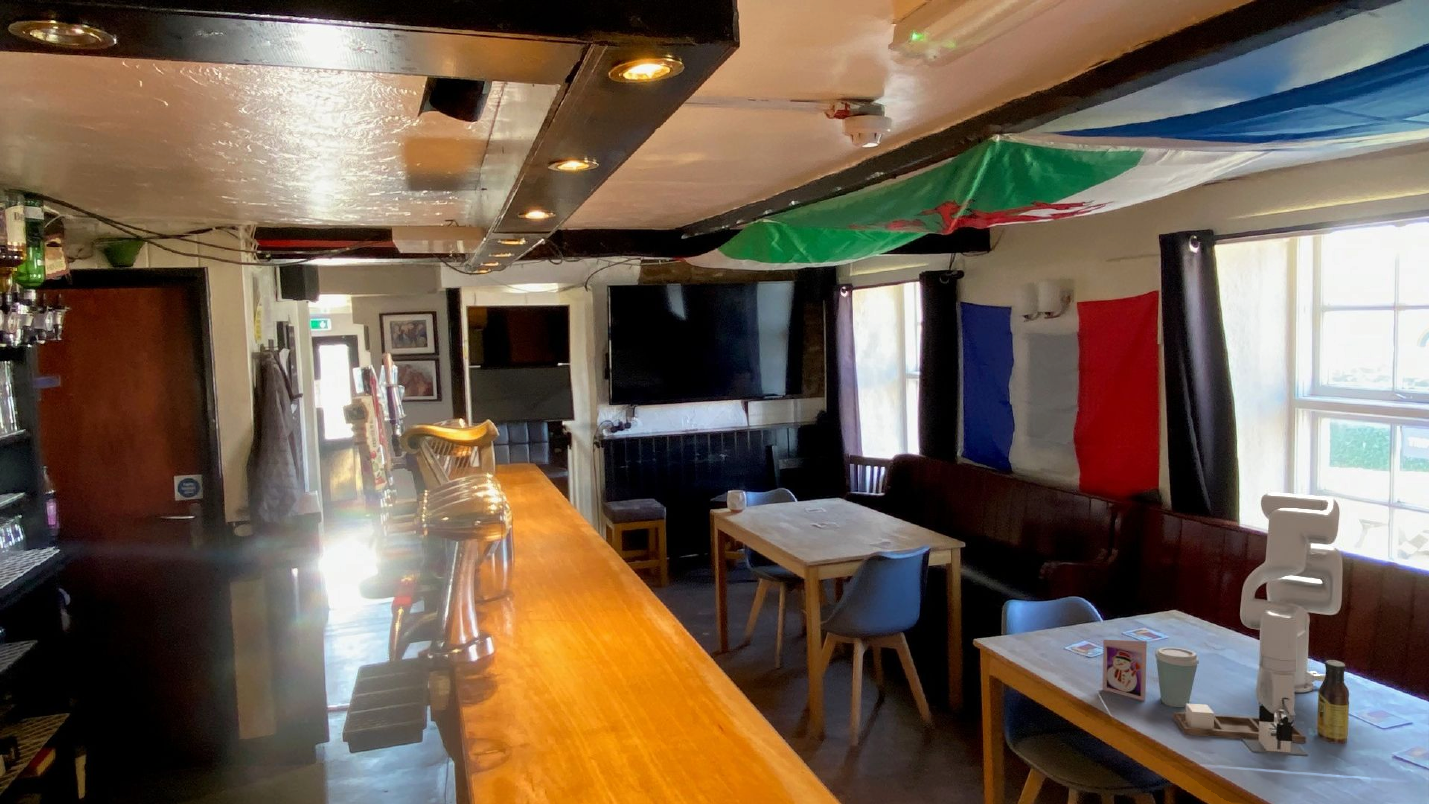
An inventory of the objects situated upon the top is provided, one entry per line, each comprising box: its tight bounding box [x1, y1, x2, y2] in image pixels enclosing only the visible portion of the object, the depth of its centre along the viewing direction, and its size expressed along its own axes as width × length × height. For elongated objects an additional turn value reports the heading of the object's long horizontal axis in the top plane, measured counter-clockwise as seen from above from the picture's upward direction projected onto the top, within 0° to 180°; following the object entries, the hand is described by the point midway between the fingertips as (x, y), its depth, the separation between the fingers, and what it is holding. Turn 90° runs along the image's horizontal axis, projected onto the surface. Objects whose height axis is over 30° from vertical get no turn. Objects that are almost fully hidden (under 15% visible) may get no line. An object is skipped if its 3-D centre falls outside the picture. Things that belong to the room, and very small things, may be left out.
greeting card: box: [1102, 639, 1148, 702], centre depth 242 cm, size 11×7×15 cm, turn 45°
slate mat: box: [1241, 738, 1309, 757], centre depth 209 cm, size 12×6×1 cm, turn 78°
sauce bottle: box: [1316, 659, 1350, 744], centre depth 213 cm, size 6×6×20 cm
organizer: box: [1172, 711, 1307, 744], centre depth 219 cm, size 27×10×2 cm, turn 78°
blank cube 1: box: [1185, 703, 1215, 729], centre depth 220 cm, size 5×5×5 cm
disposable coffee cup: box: [1154, 646, 1200, 708], centre depth 235 cm, size 11×11×15 cm
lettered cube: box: [1259, 721, 1292, 752], centre depth 209 cm, size 5×5×5 cm
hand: (1274, 731), depth 209 cm, fingers open, 9 cm apart
